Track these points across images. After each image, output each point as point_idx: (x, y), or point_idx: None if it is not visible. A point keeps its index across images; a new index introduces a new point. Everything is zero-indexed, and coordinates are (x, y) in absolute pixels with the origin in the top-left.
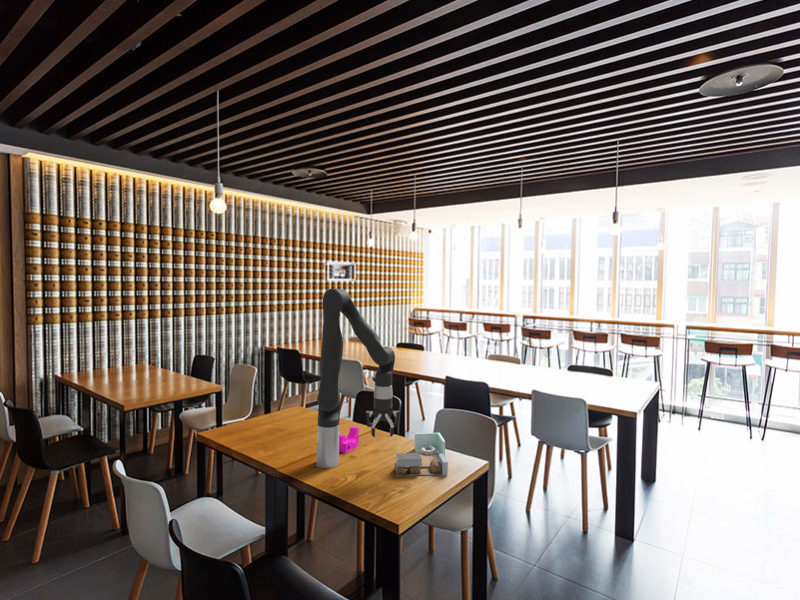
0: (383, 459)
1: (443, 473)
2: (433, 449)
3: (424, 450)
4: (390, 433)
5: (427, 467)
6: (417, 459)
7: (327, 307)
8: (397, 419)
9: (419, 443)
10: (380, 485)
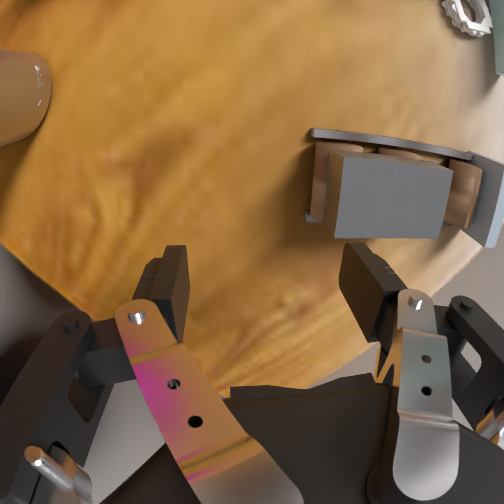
0: (269, 14)
1: (462, 229)
2: (486, 23)
3: (460, 16)
4: (349, 306)
5: (440, 153)
6: (422, 237)
7: None
8: (471, 405)
9: None
10: (233, 274)
